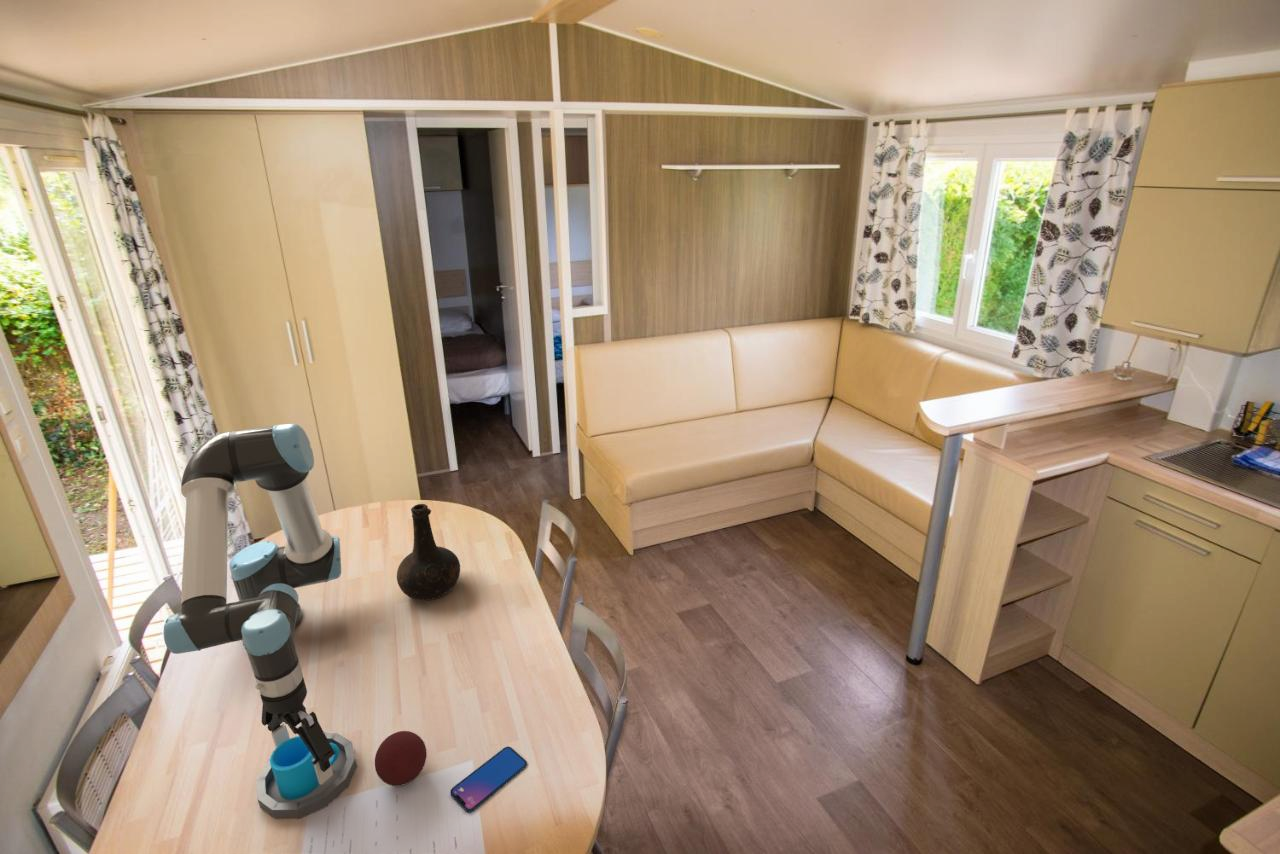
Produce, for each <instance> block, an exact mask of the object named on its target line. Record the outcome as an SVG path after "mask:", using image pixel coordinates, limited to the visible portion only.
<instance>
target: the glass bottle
mask: <svg viewBox="0 0 1280 854" xmlns="http://www.w3.org/2000/svg"><path fill="white" fill-rule="evenodd" d="M410 512H411V518H412V524H413V525H412V526H413V547H412V552H410V553H409V554H407V555H406V556H405V557H404V558H403V559H402V561H401V562H400V563H399V564H398V568H397V571H396V582H397V584H398V587H399V588H400V590H401V592H403V594H404V595H406V596H407V597H408V598H411V599H414V600H416V601H433V600H436V599H438V598H440V597H442V596H444V595H446V594H447V593H448V592H450V591H451V590H452V589H453V588H454V586H455V585H456V584H457V581H458V579H459V577H460V574H461V564H460V560H459V558H458V556H457V555H456V554H455V553H454V552H453V551H452V550H450V549H448V548H446V547H444V546H438V545H437V543H436V541H435V538H434V533H433V531H432V527H431V521H430V520H431V519H430V515H431V512H432V509H430V508H429V507H428V505H427V504H425V503H418V504H415V505H414V506H413V507H412V508H411V509H410Z"/></svg>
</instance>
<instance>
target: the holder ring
mask: <svg viewBox="0 0 1280 854" xmlns="http://www.w3.org/2000/svg"><path fill="white" fill-rule="evenodd" d="M324 734H325V735H326V737H327V739H328V741H329V743H333V744H335V745H337V747H338V748H339V756H338V758H337V760H336V761H335V762H334V763H333V764H332V765H331V768H332V772H333V775H332V776H331V777H330V778H329V779H328V780H327V781H325V782H324V783H323V784H322V785H321V784H319V786H318V787H317V788H316V789H315V790H314V791H313V792H312V793H310V794H308V795H307V796H305V797H302V798H299V799H295V800H288V799H284V798H283V797H282V796H281V795H280V793H279V790H278V787H277V783H276V780H275V777H274V774H273V771H272V768H271V765H270V758H269V759H268V760H267V762H266V764H265V765H264V766H263V769H262V771H260V773H259V775H258V776H257V778H256V780H255V781H256V782H255V783H256V799H257V802H258V806H259V808H260V809H261V810H263V811H264V812H265V813H267V814H268V815H270V816H271V817H272V818H273V819H274V820H285V819H288V820H289V819H293V820H294V819H302V818H304V817H307V816H308V815H311V814H314V813H316V812H317V811H320V810H322V809H324V808H327V807H328V806H329V805H330V804H332V803H333V802H334V801H335V800H337V798H338V797H339V796H340V795H341V794H343V792H345V791H346V790H347V789H348V788H349V786H350V784H351V781H352V779H353V777H354V775H355V772H356V770H357V768H358V765H357V764H358V763H357V760H356V759H357V758H356V755H355V750H354V747H353V741H351V740H350V739H348V738H346V737H345V736H343V735H342V734H340V733H338V732H324ZM332 757H333V756H332ZM332 757H330V758H329V761H330V760H331V758H332Z"/></svg>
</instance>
